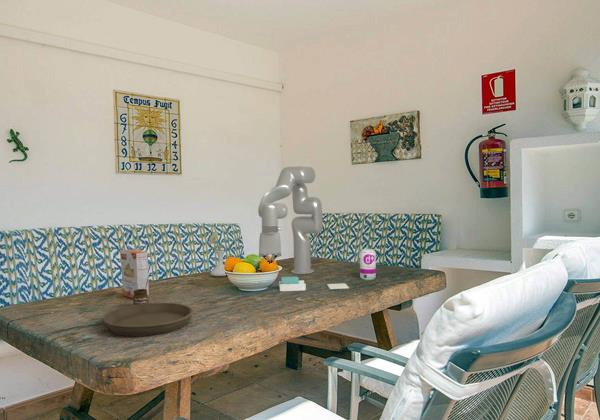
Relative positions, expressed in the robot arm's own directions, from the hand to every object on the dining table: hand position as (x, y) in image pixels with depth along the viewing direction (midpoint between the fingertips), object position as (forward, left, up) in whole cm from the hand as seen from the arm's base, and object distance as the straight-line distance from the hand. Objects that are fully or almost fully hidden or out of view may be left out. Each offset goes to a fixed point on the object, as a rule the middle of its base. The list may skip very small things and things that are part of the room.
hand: (270, 269), depth 227 cm
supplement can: (-20, +51, -10) cm, 56 cm away
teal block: (-1, +9, -10) cm, 14 cm away
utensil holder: (+24, -54, -10) cm, 60 cm away
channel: (-1, +10, -10) cm, 14 cm away
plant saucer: (+51, -45, -10) cm, 69 cm away
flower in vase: (-41, -27, -10) cm, 50 cm away
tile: (-2, +32, -10) cm, 34 cm away
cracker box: (+5, -61, -10) cm, 62 cm away
